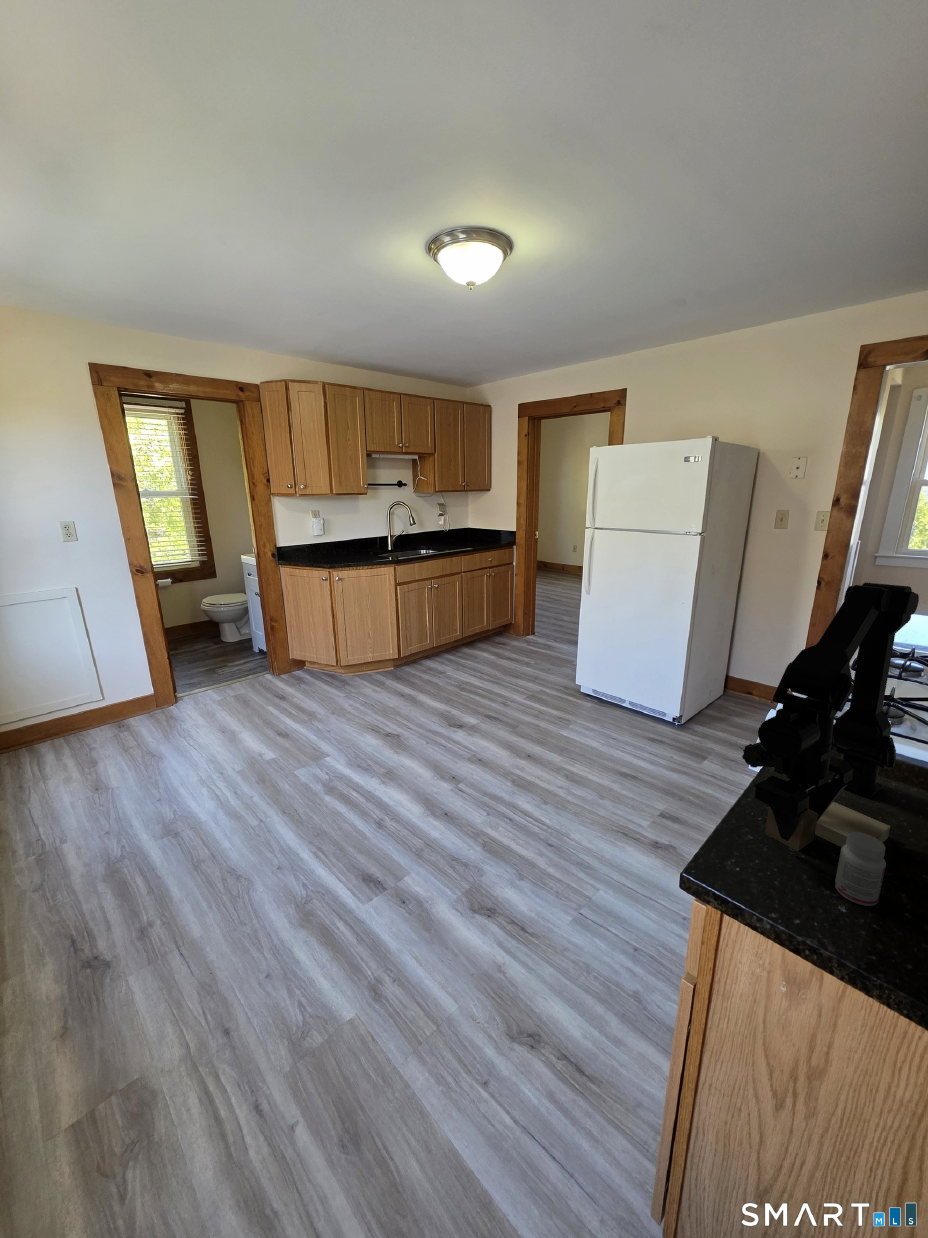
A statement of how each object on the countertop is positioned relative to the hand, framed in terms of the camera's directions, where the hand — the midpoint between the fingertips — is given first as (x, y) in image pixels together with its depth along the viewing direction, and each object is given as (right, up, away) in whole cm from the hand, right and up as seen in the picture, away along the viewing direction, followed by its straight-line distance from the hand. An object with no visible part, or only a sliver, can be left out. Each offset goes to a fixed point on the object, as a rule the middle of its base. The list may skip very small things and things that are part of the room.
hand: (799, 829), depth 77 cm
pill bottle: (+1, -5, -10) cm, 11 cm away
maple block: (+9, -2, +3) cm, 10 cm away
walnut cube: (-1, -2, +1) cm, 2 cm away
